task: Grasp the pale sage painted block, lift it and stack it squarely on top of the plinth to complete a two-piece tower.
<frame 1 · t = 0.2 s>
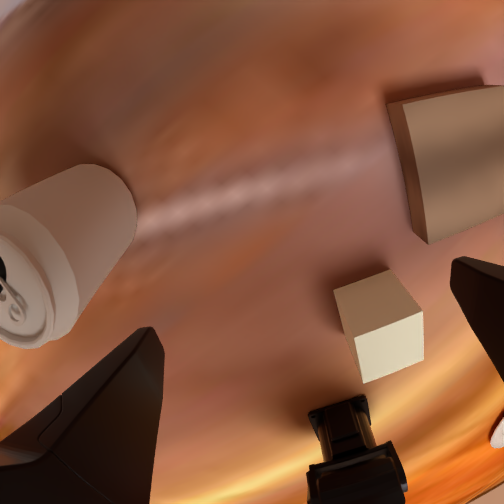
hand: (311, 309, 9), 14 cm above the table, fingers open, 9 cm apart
plinth: (451, 154, 21), on the table
can: (95, 210, 22), on the table
block: (366, 303, 26), on the table
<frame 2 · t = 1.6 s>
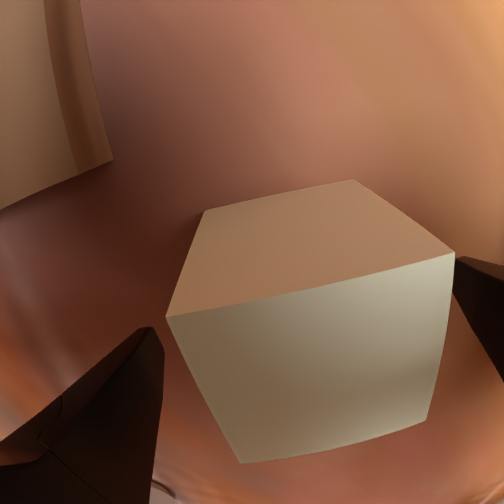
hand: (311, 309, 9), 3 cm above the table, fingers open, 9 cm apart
can: (133, 485, 19), on the table
block: (293, 261, 11), on the table
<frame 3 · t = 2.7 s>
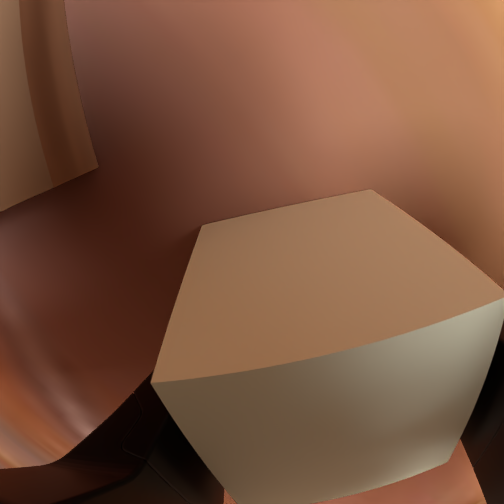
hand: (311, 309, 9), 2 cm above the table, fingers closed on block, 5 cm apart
block: (302, 281, 10), on the table, touching gripper
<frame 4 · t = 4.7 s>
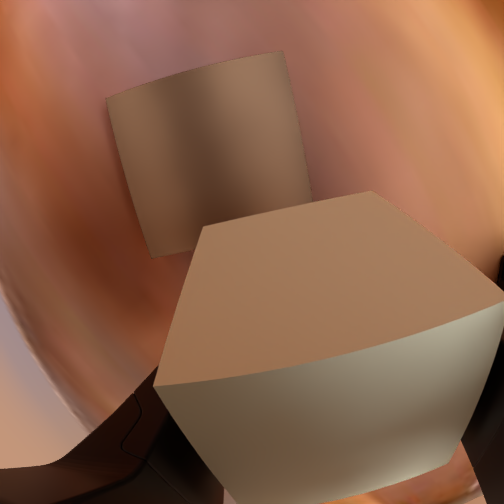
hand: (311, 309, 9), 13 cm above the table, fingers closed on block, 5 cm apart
plinth: (215, 151, 20), on the table
block: (303, 283, 10), point 11 cm above the table, touching gripper
when the fingers open (6 cm above the table, at t = 6.9 s): block drops 2 cm, resting on plinth.
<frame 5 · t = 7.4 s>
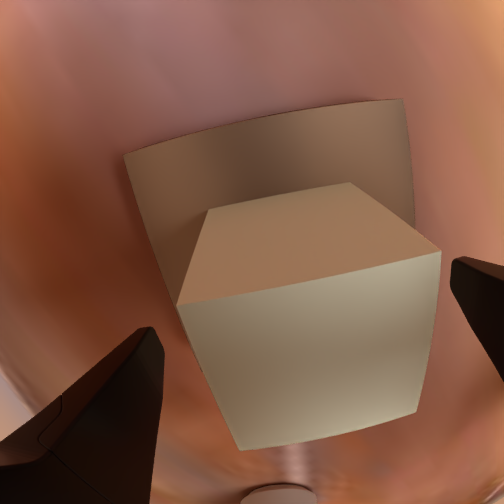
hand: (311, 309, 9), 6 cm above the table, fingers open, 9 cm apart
plinth: (283, 227, 15), on the table, touching block
can: (277, 493, 25), on the table
block: (291, 259, 12), point 2 cm above the table, touching plinth
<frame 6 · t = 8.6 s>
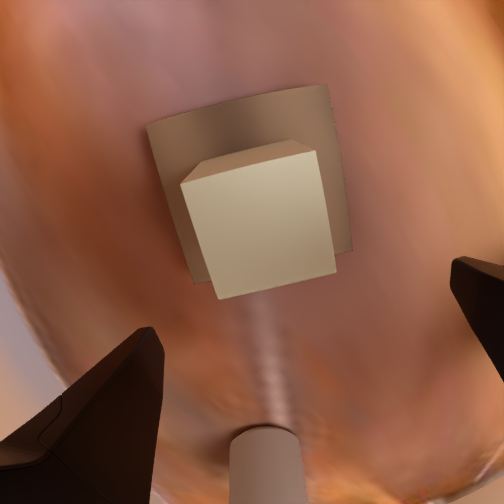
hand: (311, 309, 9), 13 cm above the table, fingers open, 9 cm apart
plinth: (253, 177, 20), on the table
can: (264, 439, 31), on the table
block: (257, 193, 18), point 2 cm above the table
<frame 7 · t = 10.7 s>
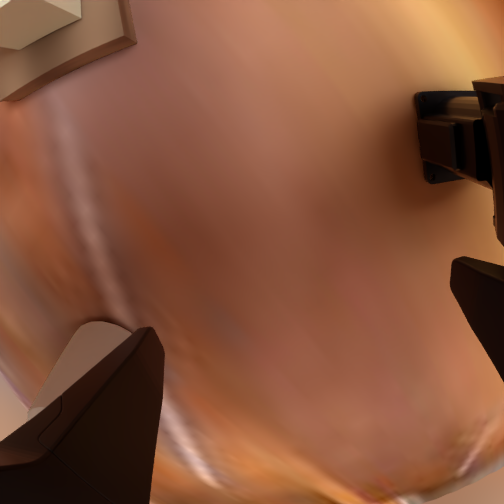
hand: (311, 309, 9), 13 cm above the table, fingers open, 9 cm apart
plinth: (66, 15, 15), on the table, touching block
can: (115, 348, 26), on the table
block: (47, 3, 12), point 3 cm above the table, touching plinth
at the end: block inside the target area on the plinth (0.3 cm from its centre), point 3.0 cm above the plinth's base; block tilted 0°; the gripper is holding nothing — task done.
